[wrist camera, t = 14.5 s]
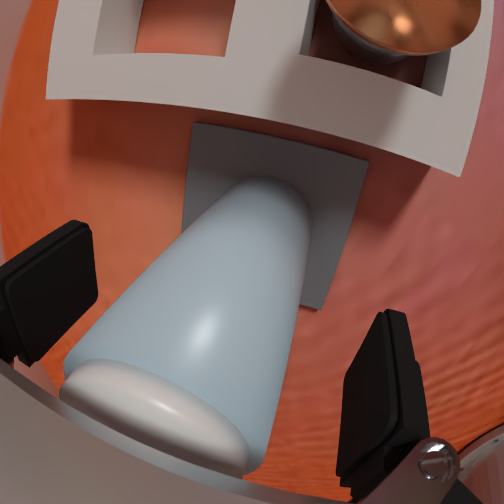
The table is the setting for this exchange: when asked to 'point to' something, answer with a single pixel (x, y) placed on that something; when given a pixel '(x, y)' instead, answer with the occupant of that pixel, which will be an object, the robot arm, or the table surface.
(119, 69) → the housing
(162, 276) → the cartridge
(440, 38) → the plunger
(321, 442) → the table surface
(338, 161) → the mat
